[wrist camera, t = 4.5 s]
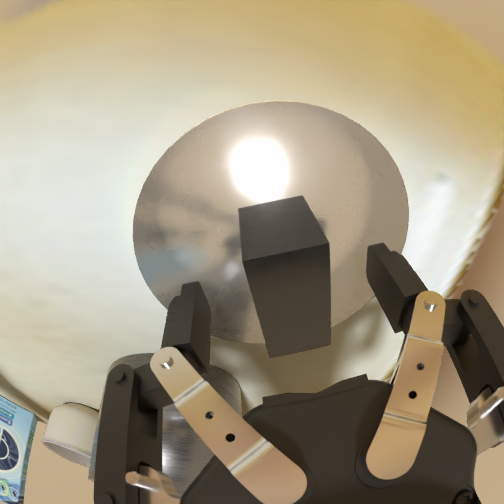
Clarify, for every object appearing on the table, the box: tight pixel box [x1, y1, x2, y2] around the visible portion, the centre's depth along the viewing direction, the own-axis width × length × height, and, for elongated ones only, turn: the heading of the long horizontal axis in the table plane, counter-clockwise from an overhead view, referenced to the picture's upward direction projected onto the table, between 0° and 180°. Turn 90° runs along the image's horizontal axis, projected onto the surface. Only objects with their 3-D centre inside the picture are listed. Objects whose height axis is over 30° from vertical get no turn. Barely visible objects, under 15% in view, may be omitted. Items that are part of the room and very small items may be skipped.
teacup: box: [42, 403, 99, 468], centre depth 26 cm, size 14×11×8 cm
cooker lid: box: [133, 100, 409, 358], centre depth 13 cm, size 15×15×5 cm
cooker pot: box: [88, 353, 242, 497], centre depth 21 cm, size 21×13×11 cm, turn 12°
